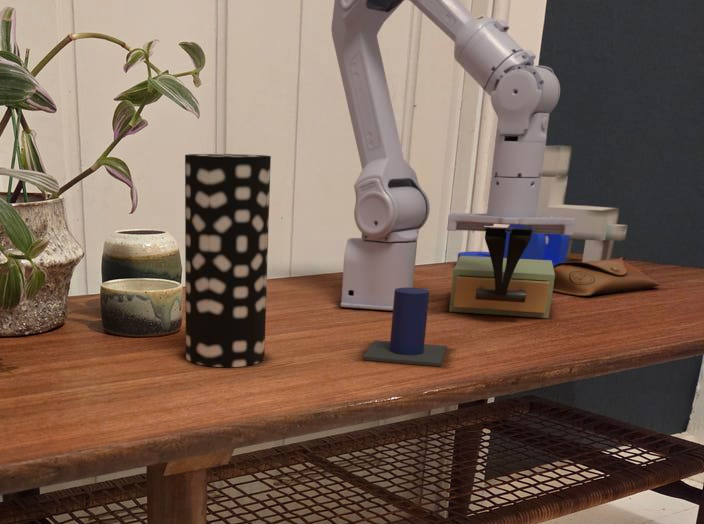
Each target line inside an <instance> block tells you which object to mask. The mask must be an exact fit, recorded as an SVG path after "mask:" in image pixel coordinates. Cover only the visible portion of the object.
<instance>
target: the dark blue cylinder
mask: <svg viewBox="0 0 704 524" xmlns="http://www.w3.org/2000/svg"><path fill="white" fill-rule="evenodd" d="M429 301H430V290H428V289H426V288H421V287H413V288H397V289H395V292H394V303H393V311H392V317H391V327H390V329H391V331H390V340H389V341H390V351H391V352H393V353H396V354H401V355H418V354H422V353H423V352H424V344H425V342H426V331H427V321H428V311H429Z"/></svg>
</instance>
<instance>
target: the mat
mask: <svg viewBox="0 0 704 524" xmlns="http://www.w3.org/2000/svg"><path fill="white" fill-rule="evenodd" d="M447 348H448V346H447V345H438V344H427V343H424V352H423V353H422V354H418V355H401V354H396V353H393V352H391V351H390V340H377V339H375V340H373V342H372V344H371V345H370V346H369V348H367V350H366V352H365V353H364V355H363V358H362V360H363V361H369V362H383V363H392V364H393V363H395V364H405V365H418V366H429V367H439V368H440V367H442V363H443V362H444V358H445V355H446V353H447Z"/></svg>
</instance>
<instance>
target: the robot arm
mask: <svg viewBox="0 0 704 524" xmlns="http://www.w3.org/2000/svg"><path fill="white" fill-rule="evenodd" d="M408 1H409V2H411V3H412V5H414V6H415V7H416V8H417V9H418V10H419V11H421V12H422V14H424V16H426V17H427V18H428V19H429V21H431V22H432V23H433V24H434V25H435V26H436V27H438V28H439V29H440V31H442V32H443V34H445V35H446V36H447V37H448V38H449V39H450V40H452V42H453V43H454V45H453V46H454V47H453V56H454V59H455V61H456V62H457V63H458V64H459V65H460V67H462V69H463V70H464V71H465V72H466V73H467V74H468V75H469V76H470V77H471V78H472V79H473V80H474V81H475V82H476V83H477V84H478V85H479V86H480V87H481V88H482V89H483V90H484V92H485V93H486V94H487V95H488V96H489V97H490V103H491V106H492V109H493V111H494V112H495V115H496V117H497V123H496V131H495V137H494V146H493V155H492V164H491V170H490V171H491V172H490V181H489V189H488V196H487V197H488V198H487V207H486V213H459V212H458V213H457V212H455V213H454V212H450V213H449V214H448V217H447V228H446V231H449V232H451V231H452V232H456V231H467V232H485V234H484V241H485V244H486V247H487V249H488V252H489V253H490V257H491V261H492V265H493V270H494V277H495V294H507V289H508V285H509V282H510V279H511V277H512V274H513V272H514V269H515V267H516V265H517V263H518V261H519V259H520V257H521V255H522V254H523V252H524V250H525V249H526V247H527V245H528V244H529V242H530V240H531V233H540V234H563V235H573V232H574V225H575V218H574V217H554V216H537V215H536V212H537V204H538V197H539V189H540V182H541V178H540V177H541V175H542V168H543V160H544V153H545V146H547V137H548V128H549V120H550V114H551V113H552V112H553V110H555V108H556V106H557V104H558V102H559V99H560V96H561V84H560V81H559V79H558V78H557V75H556V74H555V73H554V70H553V69H552V68H551V67H548V66H546V65H534V64H535V59H536V57H537V55H536V54H535V53H534V52H533V51H532V50H530V49H527V50H525V49H523V47H521V45H520V44H519V43H517V41H516V40H514V39H513V37H512V36H511V35H510V34H509V33H508V31H509V29H510V25H508V24H507V22H506V21H505V20H502V19H497V20H495V19H494V18H493V17H490V16H489V17H488V16H487V17H483V18H476V17H475V16H474V15H473V14H472V13H471V12H470V10H469V9H468V8H467V7H466V6H465V5H464V3H462V1H461V0H408ZM403 2H405V0H334V2H333V10H332V20H331V38H332V42H333V46H334V50H335V54H336V59H337V63H338V68H339V72H340V78H341V82H342V85H343V90H344V95H345V99H346V103H347V108H348V113H349V117H350V122H351V126H352V130H353V134H354V135H353V136H354V139H355V144H356V148H357V153H358V156H359V157H358V158H359V162H360V165H361V171H360V173H359V174H358V176H357V179H356V180H355V182H354V185H353V188H354V193H355V204H354V210H353V217H354V221H355V225H356V227H357V229H358V231H359V232H360V233H361V237H350V238H348V239H347V241H346V244H345V249H344V255H343V265H342V266H343V267H342V282H341V283H342V284H341V299H340V301H341V302H340V305H339V306H340V307H341V308H350V309H351V308H352V309H361V310H363V309H364V310H376V311H377V310H378V311H392V312H393V303H394V292H395V289H397V288H414V282H415V280H414V279H415V269H416V258H417V249H418V248H417V247H418V239H419V233H420V230H421V229H422V228H423V227H424V226H425V224H426V222H427V221H428V218H429V216H430V212H431V211H430V210H431V209H430V208H431V207H430V205H431V204H430V201H429V197H428V194H427V193H426V192H425V190H424V189H422V187H421V185H420V184H419V181H418V177H417V173H416V171H415V170H414V169H413V168H412V166H411V165H410V164H409V163H408V161H407V160H406V159H405V158H404V154H403V150H402V145H401V141H400V137H399V132H398V131H399V130H398V127H397V122H396V117H395V113H394V109H393V108H394V107H393V104H392V103H393V102H392V99H391V94H390V90H389V86H388V81H387V77H386V72H385V67H384V62H383V58H382V54H381V53H382V52H381V49H380V43H379V40H378V34H379V32H380V30H381V28H382V27H383V25H384V23H385V22H386V21H387V20H388V19H389V18H390V16H392V14H394V12H395V11H396V10H397V9H398V8H399V7H400V6H401V4H402V3H403ZM494 225H507V226H509V225H526V227H528V228H507V227H500V226H494ZM531 228H536V229H531ZM507 232H512V233H510V237H509V245H508V253H507V261H506V267H505V272H504V277H503V281H502V272H503V259H504V251H505V243H506V235H507Z"/></svg>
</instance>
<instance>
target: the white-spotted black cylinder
mask: <svg viewBox="0 0 704 524" xmlns="http://www.w3.org/2000/svg"><path fill="white" fill-rule="evenodd" d="M271 159H272V156H271V155H267V154H266V155H264V154H243V153H242V154H241V153H240V154H239V153H192V154H191V153H189V154H185V155H184V227H185V228H184V231H185V232H184V240H185V241H184V244H185V245H184V246H185V247H184V249H185V251H184V254H185V255H184V256H185V260H184V261H185V263H184V264H185V265H184V267H185V269H184V270H185V271H184V272H185V275H184V276H185V277H184V278H185V283H184V284H185V286H184V287H185V288H184V289H185V293H184V294H185V296H184V297H185V301H184V302H185V359H186V360H187V361H188V362H191V363H193V364H196V365H199V366H205V367H213V368H241V367H248V366H253V365H257V364H259V363H261V362H263V361H264V360H265V351H266V350H265V349H266V322H267V321H266V320H267V319H266V318H267V292H268V291H267V289H268V261H269V260H268V256H269V229H270V228H269V226H270V225H269V224H270V195H271V193H270V192H271V162H272V160H271Z"/></svg>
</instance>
